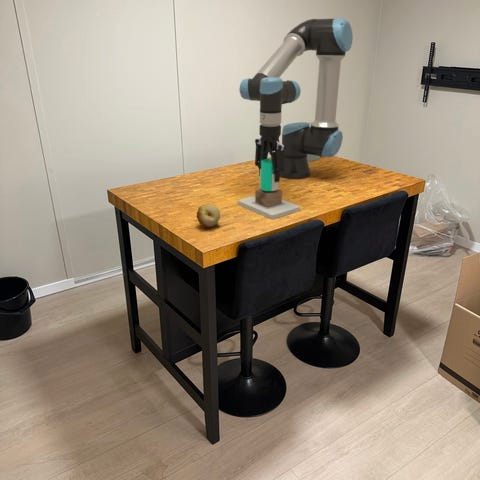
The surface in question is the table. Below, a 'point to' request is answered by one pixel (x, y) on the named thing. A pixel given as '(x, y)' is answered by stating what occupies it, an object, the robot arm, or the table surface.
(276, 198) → the walnut block
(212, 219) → the fruit
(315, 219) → the table surface
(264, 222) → the table surface
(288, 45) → the robot arm
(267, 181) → the candle
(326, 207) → the table surface
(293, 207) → the slab
